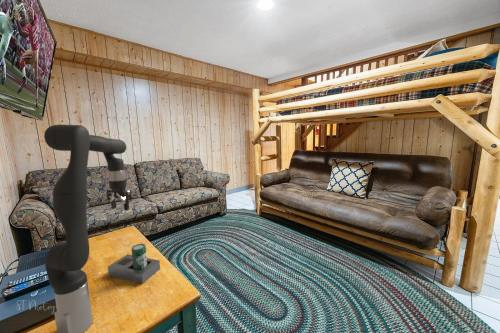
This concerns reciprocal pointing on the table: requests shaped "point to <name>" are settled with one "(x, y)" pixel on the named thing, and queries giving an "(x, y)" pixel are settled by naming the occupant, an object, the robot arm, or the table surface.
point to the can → (139, 256)
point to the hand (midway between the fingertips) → (120, 209)
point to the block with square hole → (126, 271)
